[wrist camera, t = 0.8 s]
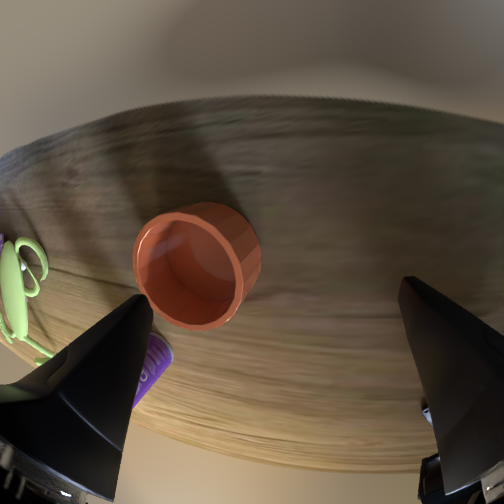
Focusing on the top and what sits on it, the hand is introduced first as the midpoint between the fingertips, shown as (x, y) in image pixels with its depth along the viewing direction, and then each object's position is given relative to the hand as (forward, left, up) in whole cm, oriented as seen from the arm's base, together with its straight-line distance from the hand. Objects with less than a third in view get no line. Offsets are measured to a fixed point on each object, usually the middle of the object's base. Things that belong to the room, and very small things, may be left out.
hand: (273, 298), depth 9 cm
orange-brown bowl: (+3, +8, -13) cm, 16 cm away
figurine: (+21, +42, -13) cm, 49 cm away
